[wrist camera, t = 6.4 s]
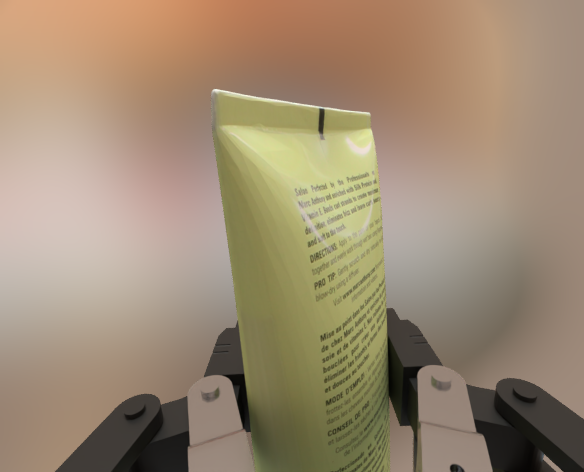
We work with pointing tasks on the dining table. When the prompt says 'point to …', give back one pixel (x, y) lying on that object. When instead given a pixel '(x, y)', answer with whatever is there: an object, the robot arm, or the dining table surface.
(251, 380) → the tube
